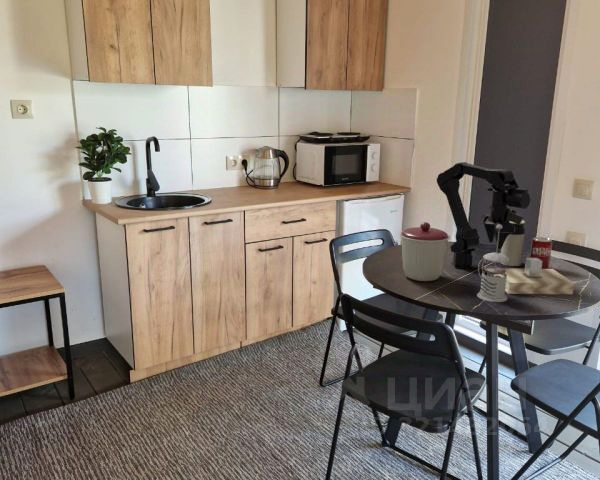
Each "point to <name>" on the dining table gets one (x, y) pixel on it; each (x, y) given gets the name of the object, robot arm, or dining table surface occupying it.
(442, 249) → the canister
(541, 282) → the hole block
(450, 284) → the dining table surface
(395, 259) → the dining table surface
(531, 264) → the steel peg
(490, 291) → the french press
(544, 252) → the soda can
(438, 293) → the dining table surface
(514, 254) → the travel mug
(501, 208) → the robot arm
